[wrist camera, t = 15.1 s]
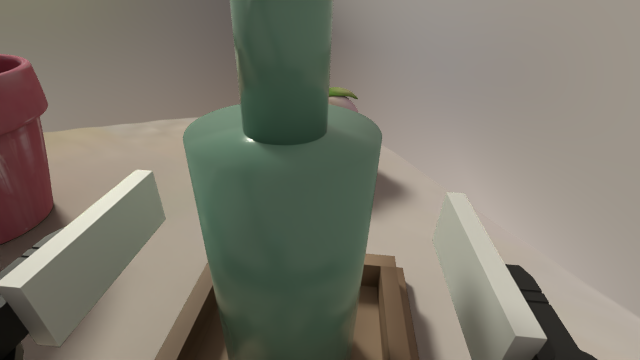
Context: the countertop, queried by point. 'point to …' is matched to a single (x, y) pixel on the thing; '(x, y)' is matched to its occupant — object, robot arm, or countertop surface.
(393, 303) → the u rest
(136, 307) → the countertop surface
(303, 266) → the green bottle
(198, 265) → the countertop surface
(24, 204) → the plant pot
